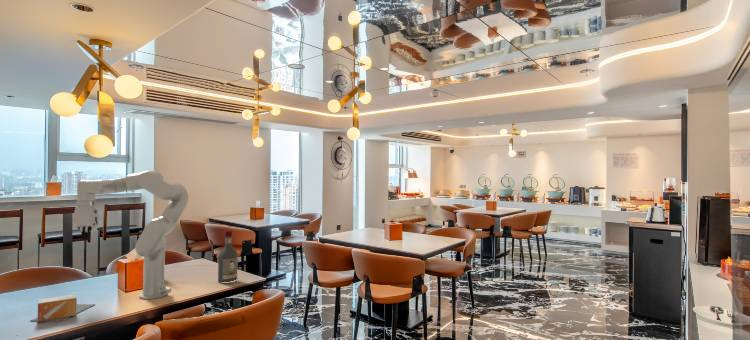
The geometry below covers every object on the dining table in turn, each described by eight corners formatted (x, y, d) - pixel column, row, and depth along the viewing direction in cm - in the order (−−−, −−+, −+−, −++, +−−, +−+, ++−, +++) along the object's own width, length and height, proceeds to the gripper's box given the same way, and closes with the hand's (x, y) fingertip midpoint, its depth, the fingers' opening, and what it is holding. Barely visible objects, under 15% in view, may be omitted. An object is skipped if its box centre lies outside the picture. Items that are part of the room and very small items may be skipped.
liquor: (216, 281, 223) (217, 230, 224) (231, 278, 230) (232, 229, 231) (224, 284, 217) (225, 232, 218) (238, 281, 224) (239, 230, 225)
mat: (94, 305, 182) (94, 304, 182) (61, 321, 162) (61, 320, 162) (67, 305, 181) (67, 304, 181) (30, 321, 161) (30, 320, 161)
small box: (76, 315, 167) (37, 322, 159) (76, 311, 172) (38, 317, 164) (76, 297, 167) (37, 303, 159) (76, 293, 172) (38, 299, 164)
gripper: (106, 203, 199) (105, 238, 198) (76, 203, 198) (76, 238, 198) (95, 204, 191) (95, 241, 191) (65, 204, 191) (64, 240, 190)
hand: (85, 239), depth 194 cm, fingers closed
